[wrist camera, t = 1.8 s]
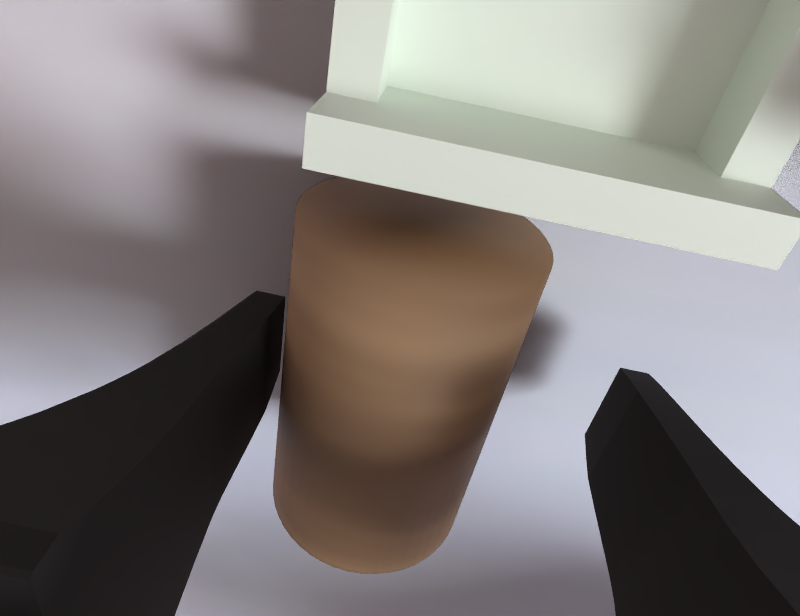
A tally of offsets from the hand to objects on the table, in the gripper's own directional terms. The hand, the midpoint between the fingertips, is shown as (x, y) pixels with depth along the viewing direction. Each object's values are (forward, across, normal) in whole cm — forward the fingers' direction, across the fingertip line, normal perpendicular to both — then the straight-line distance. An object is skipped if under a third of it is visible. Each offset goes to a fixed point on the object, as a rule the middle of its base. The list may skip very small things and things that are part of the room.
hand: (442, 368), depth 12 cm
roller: (+1, 0, 0) cm, 1 cm away
